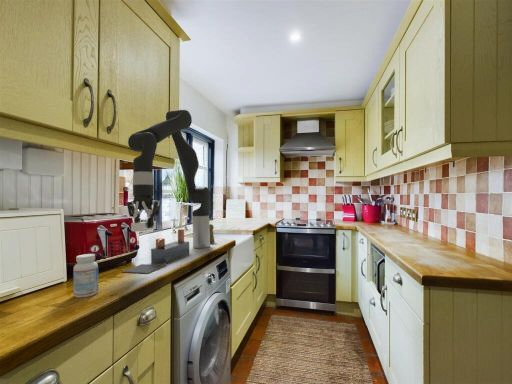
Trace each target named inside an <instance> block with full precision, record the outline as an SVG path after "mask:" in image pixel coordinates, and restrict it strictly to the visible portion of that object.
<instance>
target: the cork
mask: <svg viewBox="0 0 512 384" xmlns="http://www.w3.org/2000/svg"><path fill="white" fill-rule="evenodd" d="M209 227H210V244H214V243H215V236H214V225H213V224H210V223H209ZM213 242H214V243H213Z"/></svg>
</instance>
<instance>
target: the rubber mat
mask: <svg viewBox="0 0 512 384" xmlns="http://www.w3.org/2000/svg"><path fill="white" fill-rule="evenodd" d="M164 267H166V264H148V263H147V264H143V263H142V264H139V265H136V266H133V267H130V268H128V269H125V270H122V271H121V273H124V274H139V275H142V274H144V275H149V274H152V273H154V272H155V271H158V270H160V269H163V268H164Z"/></svg>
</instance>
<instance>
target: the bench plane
mask: <svg viewBox="0 0 512 384" xmlns="http://www.w3.org/2000/svg"><path fill="white" fill-rule="evenodd" d="M165 240H166V239H165V238H156V239H155V247H153V248H151V249H150V260H151V261H150V262H151V263H150V264H155V265H167V264H169V263H171V262H173V261H176V260H178V259H181V258H183V257H185V256H187V255H190V241H187V240H186V241H185V229H184V228H183V229H182V228H181V229H180V228H179V229H177V240H176V241H173V242H170V243H167V244H166V241H165Z"/></svg>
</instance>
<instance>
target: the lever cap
mask: <svg viewBox="0 0 512 384" xmlns="http://www.w3.org/2000/svg"><path fill="white" fill-rule="evenodd" d="M130 229H131V232H143V233H144V232H147V231H152V230H153V231H154V230H156V229H157V221H156V220H154V226H153V227H152V228H148V218H144V219H140V222H134V221H133V222H131V225H130Z"/></svg>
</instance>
